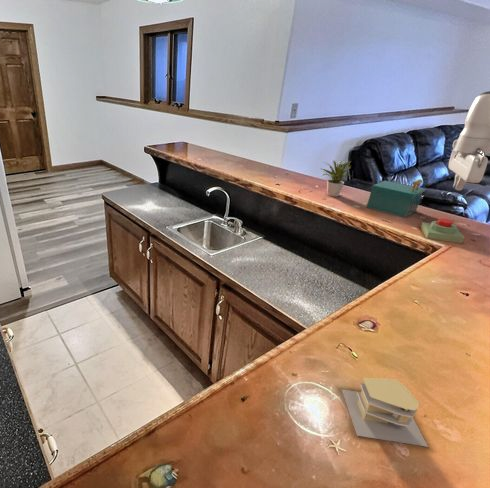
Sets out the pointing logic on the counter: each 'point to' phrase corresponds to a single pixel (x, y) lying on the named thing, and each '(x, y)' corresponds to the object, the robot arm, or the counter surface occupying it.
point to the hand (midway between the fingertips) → (457, 189)
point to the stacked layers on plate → (384, 411)
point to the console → (441, 232)
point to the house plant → (336, 178)
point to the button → (444, 222)
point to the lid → (401, 187)
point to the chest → (393, 202)
